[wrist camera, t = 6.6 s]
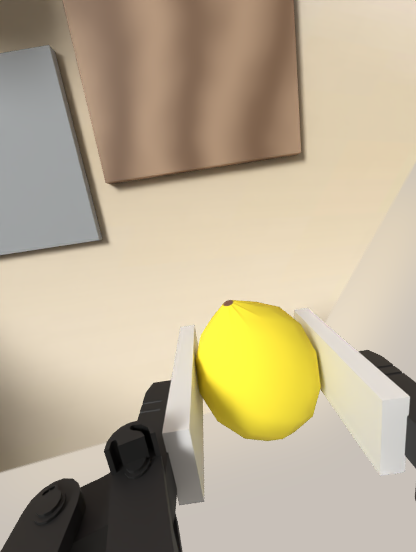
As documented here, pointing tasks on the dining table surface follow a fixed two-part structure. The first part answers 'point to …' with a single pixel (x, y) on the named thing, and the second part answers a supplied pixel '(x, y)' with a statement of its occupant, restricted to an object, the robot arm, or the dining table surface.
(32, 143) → the slate grey mat
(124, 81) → the walnut board
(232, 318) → the lemon
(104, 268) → the dining table surface
